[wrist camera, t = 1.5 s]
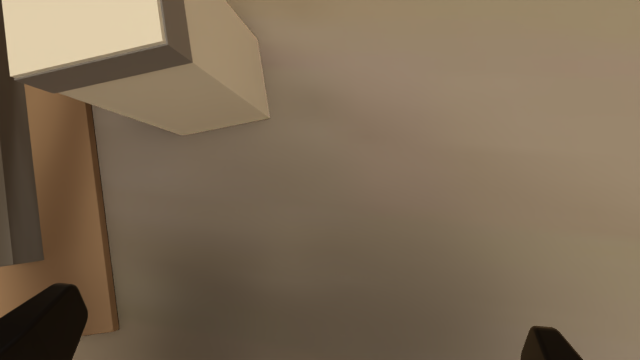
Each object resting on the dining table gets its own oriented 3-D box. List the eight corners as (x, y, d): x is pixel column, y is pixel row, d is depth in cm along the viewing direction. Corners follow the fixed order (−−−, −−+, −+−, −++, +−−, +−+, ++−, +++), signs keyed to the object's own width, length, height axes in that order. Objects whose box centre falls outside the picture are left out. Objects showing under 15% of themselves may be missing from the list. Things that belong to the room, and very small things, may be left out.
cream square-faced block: (181, 136, 24) (8, 78, 14) (170, 58, 25) (-7, -60, 14) (271, 119, 24) (164, 42, 13) (258, 38, 24) (144, -102, 13)
